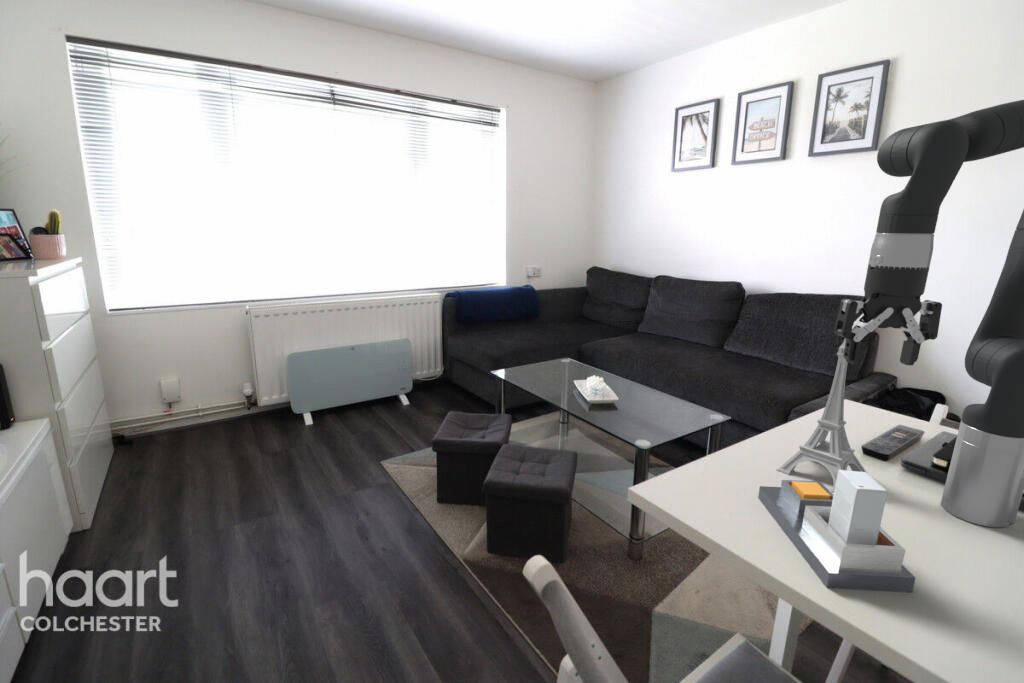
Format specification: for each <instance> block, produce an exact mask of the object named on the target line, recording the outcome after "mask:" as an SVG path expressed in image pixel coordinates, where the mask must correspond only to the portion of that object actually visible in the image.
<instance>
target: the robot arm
mask: <svg viewBox="0 0 1024 683" xmlns="http://www.w3.org/2000/svg"><path fill="white" fill-rule="evenodd" d="M1023 148H1024V99H1021V100H1015V101H1010V102H1005V103H1001V104H997V105H994V106H990V107H986V108H981V109H977V110H974V111H971V112H968V113H965V114H962V115H959V116H956V117H954V118H949V119H946V120H939V121H935V122H931V123H925V124H921V125H915V126H911V127H906V128H902V129H899V130H897V131H895V132H894V133H892V134H891V135H888V137H887V138H886V139H885V140H884V141H883V143H882V144H881V145H880V147H879V149H878V150H877V153H876V154H877V155H876V162H877V165H878V167H879V169H880V170H881V171H882V172H884V174H886V175H888V176H890V177H895V178H897V177H898V178H904V177H909V180H908V181H907V183H906V185H905V187H904V188H903V189H902V190H901V191H898V192H896V193H893V194H890V195H887V197H885V198H884V199H883V201H882V203H881V206H880V210H879V216H878V221H877V226H876V231H875V235H874V239H873V242H872V243H871V244H872V245H871V249H870V253H869V259H868V264H867V269H866V275H865V281H864V286H863V292H864V295H863V298H862V299H861V300H853V299H848V298H843V299H842V300H841V301H840V304H839V307H838V312H837V317H836V321H835V326H834V330H833V333H834V334H835V335H837V336H840V337H842V338H844V339H846V343H845V350H844V355H843V356H844V358H845V359H846V361H847V362H848V364H850V365H858V364H859V361H860V356H861V355H860V354H861V349H862V344H863V343H862V342H861V341H862V340H863V339H864V337H866V336H867V335H868V334H869V333H873V332H874V331H875V329H877V328H879V329H887V328H893V329H899V330H900V331H901V333H902V334H903V336H904V338H905V339H906V340H905V339H904V340H903V342H902V348H901V352H900V358H899V362H900V364H903V365H905V366H914V364H915V363H917V361H918V360H919V354H920V351H921V345H922V344H924V342H925V341H928V340H936V339H937V338H938V336H939V335H938V334H939V327H940V322H941V315H942V310H943V309H942V308H943V304H942V302H940V301H934V300H931V299H930V300H929V299H925V300H924V301H921V296H922V295H924V293H925V291H926V286H927V280H928V276H929V271H930V267H931V261H932V256H933V252H934V240H935V239H934V237H935V232H936V227H937V223H938V219H939V214H940V208H941V205H942V203H943V202H944V200H945V198H946V196H947V194H948V193H949V191H950V190H951V187H952V185H953V183H954V181H955V180H956V178H957V175H958V174H959V172H960V169H961V168H962V166H963V164H964V163H967V162H974V161H979V160H982V159H983V160H984V159H987V158H990V157H995V156H999V155H1002V154H1006V153H1010V152H1012V151H1016V150H1019V149H1023ZM1010 241H1011V242H1010V244H1009V246H1008V251H1007V254H1006V258H1005V261H1004V264H1003V267H1002V270H1001V271H1000V272H1001V273H1000V275H999V278H998V281H997V284H996V286H995V287H994V290H993V294H992V296H991V300H990V302H989V305H988V306H987V308H986V310H985V312H984V315H983V317H982V319H981V321H980V323H979V324H978V327H977V329H976V331H975V333H974V335H973V337H972V339H971V341H970V343H969V346H967V347H968V348H967V349H966V353H965V357H964V368H965V371H966V373H967V375H968V376H969V377H970V378H971V379H973V380H974V381H976V382H978V383H981V384H982V385H985V386H987V387H989V388H990V390H989V393H988V396H987V399H986V401H985V402H984V403H971V404H968V405H966V406H965V407H964V408H963V411H962V415H961V418H960V419H961V420H960V423H959V428H958V431H957V436H956V440H955V444H954V448H953V450H952V451H953V452H952V456H951V460H950V465H949V468H948V472H947V476H946V480H945V484H944V487H943V493H942V496H941V501H940V506H941V507H942V508H943V509H944V510H945V511H946V512H948V513H950V514H951V515H953V516H954V517H957V518H959V519H962V520H963V521H967V522H969V523H972V524H976V525H979V526H984V527H990V528H1004V527H1007V526H1008V525H1009V524H1015V522H1016V519H1017V515H1018V512H1019V509H1020V504H1021V502H1022V497H1023V494H1024V208H1023V210H1022V212H1021V215H1020V217H1019V220H1018V222H1017V225H1016V227H1015V231H1014V232H1013V236H1012V239H1011V240H1010ZM860 310H861V313H862V314H860V316H859V317H857V318H856V319H855V317H856V315H857V314H858V313H859V312H860ZM918 313H919V314H920V317H919V323H918V322H917V320H916V319H915V316H916V315H917V314H918ZM1008 523H1009V524H1008Z"/></svg>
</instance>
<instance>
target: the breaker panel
mask: <svg viewBox="0 0 1024 683" xmlns="http://www.w3.org/2000/svg"><path fill="white" fill-rule="evenodd" d="M792 481H795V482H817V483H818V484H819V485H820V486H821V487H822V488H823V489H824V490H825V491H826V492H827V493H828V494H829V495H830V500H829V499H807V498H801V496H800V495H799V494H798V493H797V492H796V491H795V490H794V489H793V488H792V487H791V485H792ZM758 490H759V491H758V496H757V498H758V500H759V501H760V502H761V503H762V505H763V507H765V509H766V511H767V512H768V513H769V514H770V515H771V517H772V518H773V519H774V520H775V522H776V524H778V526H779V527H780V529H781V530H782V531H783V532H784V534H785V535H786V536H787V537H788V539H789V540H790V542H791V543H792V544H793V546H794V547H795V548H796V550H797V551H798V552H799V553H800V555H801V556H802V558H804V560H805V562H807V564H808V565H809V566H810V568H811V570H813V572H814V573H815V574H816V576H817V577H818V578H819V580H820V581H821V582H822V584H823V585H824V587H825V588H827V589H828V588H829V589H848V590H862V591H865V590H867V591H880V592H881V591H882V592H897V593H900V592H901V593H913V591H914V586H915V582H916V579H917V578H916V576H915V575H913V573H912V572H910V571H909V570H908V569H907V567H905V566H904V565H903V563H904V559H905V554H906V549H905V548H904V547H903V546H902V545H901V544H900V543H898V541H896V540H895V539H894V538H893V537H892V536H891V535H890V534H889V533H888V532H887V531H886V530H884V529H883V528H882V527H881V526H880V529H879V534H878V538H877V543H876V545H863V544H846V543H845V542H844V541H843V540H842V539H841V538H840V537H839V536H838V535H837V534H836V533H835V531H834V530H833V529H832V528H831V527H830V526H829V525H828V522H829V517H830V512H831V506H832V501H833V496H834V493H833V492H831V491H830V490H829V489H828V488H827V487H826V485H824V484H823V483H822V482H821V481H820V480H817V481H816V480H794V479H793V480H792V479H782V480H781V484H780V486H761V485H759V489H758Z"/></svg>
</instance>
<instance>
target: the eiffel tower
mask: <svg viewBox="0 0 1024 683" xmlns="http://www.w3.org/2000/svg"><path fill="white" fill-rule="evenodd" d="M845 343H846V339H845V338H844V339H843V342H842V343H841V345H840V346H839V347H838V351H837V353H836V355H837V358H838V359H837V364H836V368H835V373H834V377H833V380H832V383H831V387H830V391H829V395H828V397H827V401H826V404H825V408H824V409H823V413H822V416H821V417H820V418H819V419H817V423H818V424H817V426H816V428H815V429H814V431H813V433H812V434H811V436H810V437H809V438H808V439H807V441H805V442H803V443H802V444H801V445H799V447H798V448H799V450H798V451H797V452H796V453H795V454H794V455H792V456H791V457H790V458H789V459H787V461H785V462H784V463H783V464H782V465H780V466H779V467H778V468H776V471H777V472H779V473H782V474H785V475H787V476H791V475H792V474H793V473H795V471H796V470H795V469H796V467H797V466H798V464H800V463H803V462H815V463H818V464H821V465H823V467H825V468H826V469H827V470H828V472H829V473H830V475H831V478H832V481H833V484H832V485H833V486H832V487H833V488H832V489H831V491H830V492H831V493H834V491H835V485H836V480H837V475H838V470H847V471H848V466H849V468H850V469H851V470H850V471H859V472H866V473H867V474H868V475H869V473H868V472H867V470H866V469H865V467H863V465H862V463H861V462H860V460H859V459H858V457H857V456H856V455H855V451H856V449H855V448H852V447H851V445H850V442H849V440H848V437H847V436H848V435H847V433H846V429H845V425H846V424H847V421H846V420H845V418H844V416H845V415H844V414H845V412H844V410H845V389H846V388H845V387H846V379H847V371H848V364H849V363H848V362H847V361H846V359H845V358H844V356H843V355H844V350H845ZM829 432H830V436H829V440H826V439H827V437H828V435H829Z"/></svg>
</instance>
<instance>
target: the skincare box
mask: <svg viewBox="0 0 1024 683" xmlns="http://www.w3.org/2000/svg"><path fill="white" fill-rule="evenodd" d="M866 472H867V471H866ZM866 472H859V471H852V470H848V469H847V470H838V475H837V480H836V485H835V491H834V492H833V495H834V496H833V501H832V506H831V512H830V517H829V522H828V525H829V526H830V527H831V528H832V529H833V530H834V531H835V533H836V534H837V535H838V536H839V537H840V538H841V539H842V540H843V541H844V542H845V543H846V544H863V545H876V543H877V538H878V534H879V529H880V527H881V524H882V519H883V515H884V509H885V506H886V501H887V500H886V499H887V496H888V490H887V489H886V488H884V487H883V486H882V485H881V484H880V483H879V482H877V480H875V479H874V478H873V477H872V476H871V475H870V474H869V473H868V472H867V473H868V474H867V473H866Z"/></svg>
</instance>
